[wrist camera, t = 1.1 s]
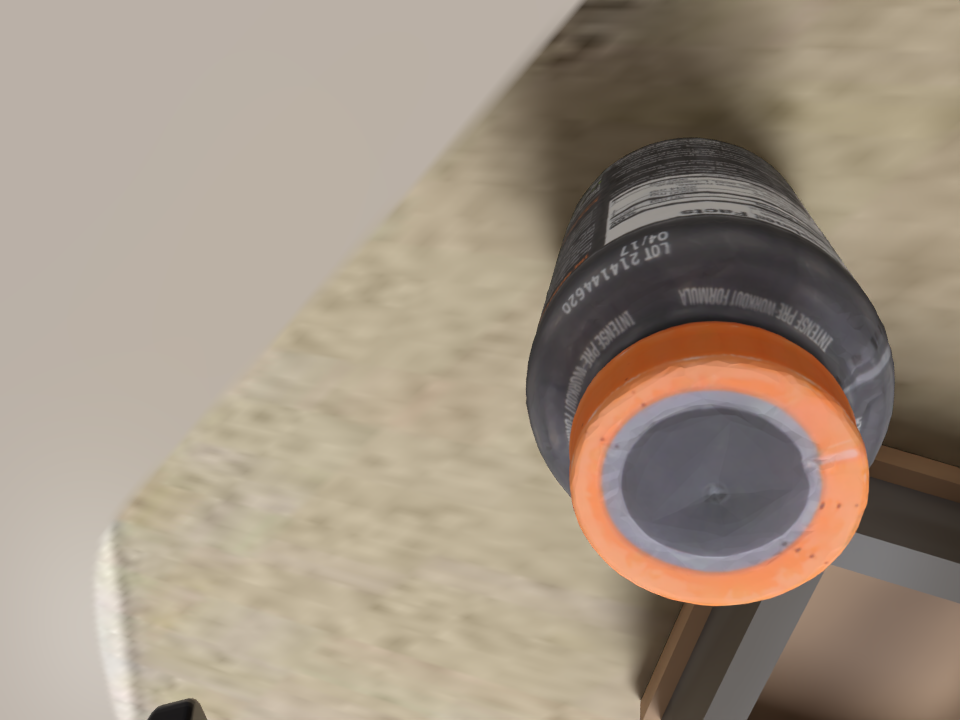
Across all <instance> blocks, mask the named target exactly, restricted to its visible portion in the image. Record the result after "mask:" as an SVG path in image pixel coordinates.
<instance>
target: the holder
mask: <svg viewBox="0 0 960 720" xmlns="http://www.w3.org/2000/svg"><path fill="white" fill-rule="evenodd" d="M640 720H960V468H959V467H955V466H952V465H948V464H945V463H942V462H938V461H935V460H931V459H928V458H924V457H921V456H918V455H914V454H911V453H907V452H904V451H900V450H897V449H894V448H890V447H887V446H883V445H881V447H880V449H879V451H878V453H877V455H876V457H875V459H874V462H873V463H872V465H871V466H870V468H869V493H868V501H867V505H866V508H865V510H864V513H863V516H862V518H861V521H860V523H859V526H858V528H857V530H856V532H855V534H854V536H853V537H852V539H851V541H850V542H849V544H848V545H847V546H846V548H845V549H844V550H843V551H842V553H841V554H840V555H839V556H838V557H837V558H836V559H835V560H834V561H833V562H832V563H831V564H830V565H829V566H828V567H827V568H826V569H825V570H824V571H823V572H821V573H820V574H818V575H817V576H816V577H814V578H812V579H811V580H809V581H807V582H805V583H804V584H802V585H800V586H798V587H796V588H794V589H792V590H790V591H788V592H786V593H783V594H781V595H778V596H776V597H773V598H770V599H765V600H761V601H756V602H752V603H747V604H738V605H728V606H708V605H698V604H692V603H686V602H684V604H683V606H682V609H681V611H680V613H679V615H678V618H677V620H676V622H675V624H674V627H673V629H672V631H671V634H670V636H669V638H668V640H667V643H666V645H665V647H664V649H663V652H662V654H661V656H660V659H659V661H658V663H657V665H656V668H655V670H654V672H653V675H652V677H651V679H650V681H649V684H648V686H647V688H646V690H645V693H644V695H643V697H642V700H641V704H640Z"/></svg>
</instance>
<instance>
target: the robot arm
mask: <svg viewBox="0 0 960 720" xmlns="http://www.w3.org/2000/svg"><path fill="white" fill-rule="evenodd" d="M148 720H207V718H206V716H205V714H204V711H203V709H202V707H201V705H200V703H199V702H198V701H197V700H196V699H193V698H191V699H190V698H188V699H184V700H180V701H176V702H172V703H168V704H164V705H161V706H159V707H157V708H156V709H155V710H154V711H153V712H152V713H151V715H150V716H149V718H148Z"/></svg>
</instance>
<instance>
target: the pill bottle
mask: <svg viewBox="0 0 960 720" xmlns="http://www.w3.org/2000/svg"><path fill="white" fill-rule="evenodd" d="M894 384H895V377H894V362H893V358H892V352H891V348H890V346H889V343H888V339H887V335H886V331H885V328H884V326H883V324H882V322H881V320H880V318H879V316H878V315H877V312H876V310H875V308H874V306H873V305H872V303H871V302H870V300H869V299H868V297H867V295H866V294H865V293H864V291H863V290H862V289H861V287H860V286H859V284H858V283H857V282H856V280H855V279H854V277H853V276H852V275H851V273H850V272H849V270H848V269H847V268H846V266H845V265H844V263H843V262H842V260H841V259H840V257H839V256H838V254H837V253H836V252H835V250H834V249H833V247H832V246H831V244H830V243H829V241H828V240H827V239H826V237H825V236H824V234H823V232H822V231H821V230H820V229H819V227H818V226H817V224H816V223H815V222H814V220H813V219H812V217H811V216H810V214H809V213H808V211H807V210H806V209H805V207H804V206H803V204H802V203H801V202H800V200H799V199H798V197H797V196H796V194H795V192H794V191H793V189H792V188H791V187H790V186H789V184H788V183H787V182H786V180H785V179H784V178H783V177H782V176H781V175H780V173H779V172H777V171H776V170H775V169H774V168H773V167H772V166H771V165H769V164H768V163H767V162H766V161H764V160H763V159H762V158H760V157H758V156H756V155H755V154H753V153H751V152H750V151H748V150H746V149H744V148H741V147H738V146H736V145H732V144H729V143H725V142H721V141H717V140H711V139H704V138H678V139H671V140H665V141H661V142H657V143H654V144H650V145H648V146H645V147H643V148H641V149H638V150H636V151H634V152H632V153H630V154H628V155H626V156H624V157H623V158H621V159H620V160H618V161H617V162H615V163H614V164H612V165H611V166H610V167H608V168H607V169H606V170H605V171H603V172H602V174H601V175H600V176H599V177H598V178H597V179H596V180H595V181H594V182H593V184H592V185H591V186H590V187H589V189H588V190H587V191H586V193H585V194H584V195H583V197H582V198H581V200H580V201H579V203H578V204H577V206H576V208H575V211H574V213H573V216H572V218H571V220H570V223H569V225H568V227H567V231H566V234H565V237H564V239H563V243H562V246H561V249H560V253H559V255H558V259H557V262H556V266H555V269H554V273H553V276H552V280H551V283H550V287H549V290H548V292H547V296H546V301H545V304H544V307H543V311H542V314H541V318H540V321H539V324H538V328H537V332H536V335H535V338H534V341H533V344H532V348H531V352H530V357H529V361H528V370H527V378H526V397H527V399H526V404H527V409H528V414H529V419H530V424H531V428H532V431H533V434H534V437H535V440H536V443H537V446H538V448H539V451H540V453H541V455H542V457H543V458H544V460H545V462H546V464H547V466H548V468H549V469H550V471H551V472H552V474H553V475H554V477H555V478H556V480H557V481H558V482H559V484H560V485H561V486H562V487H563V488H564V490H565V491H566V492H567V493H568V495H569V496H570V497H571V499H572V504H573V508H574V511H575V514H576V517H577V520H578V523H579V525H580V527H581V529H582V531H583V533H584V535H585V536H586V538H587V539H588V541H589V542H590V544H591V546H592V547H593V548H594V549H595V551H596V552H597V553H598V554H599V555H600V556H601V557H602V559H603V560H604V561H605V562H606V563H607V564H608V565H609V566H610V567H612V568H613V569H614V570H615V571H616V572H617V573H618V574H620V575H621V576H623V577H625V578H626V579H628V580H630V581H631V582H633V583H634V584H636V585H637V586H639V587H641V588H644V589H646V590H648V591H650V592H652V593H655V594H658V595H660V596H663V597H666V598H669V599H672V600H677V601H682V602H686V603H692V604H698V605H708V606H728V605H738V604H747V603H752V602H756V601H761V600H765V599H770V598H773V597H776V596H778V595H781V594H783V593H786V592H788V591H790V590H792V589H794V588H796V587H798V586H800V585H802V584H804V583H805V582H807V581H809V580H811V579H812V578H814V577H816V576H817V575H818V574H820V573H821V572H823V571H824V570H825V569H826V568H827V567H828V566H829V565H830V564H831V563H832V562H833V561H834V560H835V559H836V558H837V557H838V556H839V555H840V554H841V553H842V551H843V550H844V549H845V548H846V546H847V545H848V544H849V542H850V541H851V539H852V537H853V536H854V534H855V532H856V530H857V528H858V526H859V523H860V521H861V518H862V516H863V513H864V510H865V508H866V505H867V501H868V493H869V468H870V466H871V465H872V463H873V462H874V459H875V457H876V455H877V453H878V451H879V449H880V447H881V445H882V442H883V440H884V437H885V435H886V432H887V430H888V426H889V422H890V418H891V415H892V410H893V402H894Z"/></svg>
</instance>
